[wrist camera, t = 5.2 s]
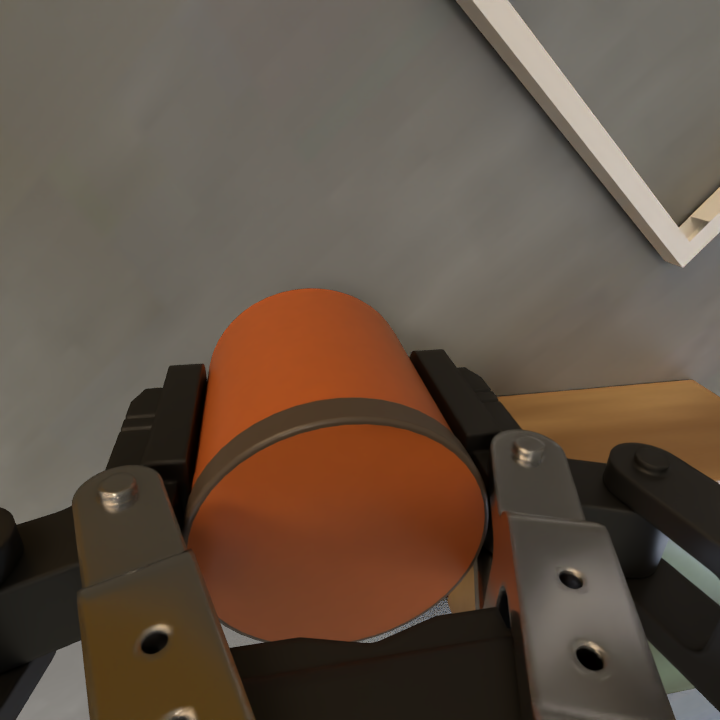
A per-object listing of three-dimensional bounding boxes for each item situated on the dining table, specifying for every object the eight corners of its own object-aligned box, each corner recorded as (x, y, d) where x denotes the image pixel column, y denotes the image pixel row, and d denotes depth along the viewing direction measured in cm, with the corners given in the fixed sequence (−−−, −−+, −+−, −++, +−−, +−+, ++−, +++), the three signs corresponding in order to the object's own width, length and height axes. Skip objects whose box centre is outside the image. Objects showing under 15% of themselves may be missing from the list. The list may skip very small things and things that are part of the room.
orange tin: (194, 289, 11) (154, 434, 7) (411, 281, 12) (513, 404, 7) (217, 467, 14) (200, 669, 9) (399, 450, 14) (470, 625, 10)
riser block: (474, 397, 21) (554, 505, 15) (692, 378, 22) (833, 469, 17) (446, 602, 26) (498, 734, 21) (624, 573, 28) (714, 689, 22)
